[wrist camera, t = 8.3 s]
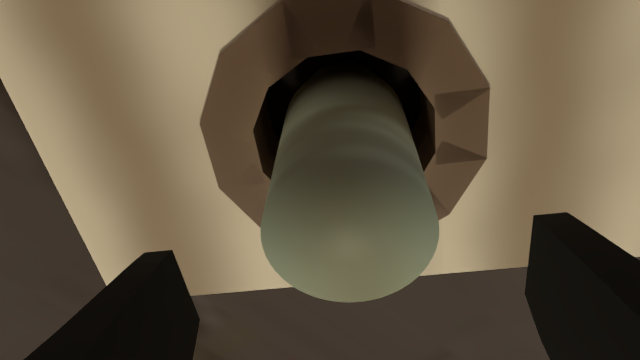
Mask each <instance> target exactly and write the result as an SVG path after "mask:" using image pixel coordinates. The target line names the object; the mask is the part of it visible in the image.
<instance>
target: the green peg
mask: <svg viewBox="0 0 640 360" xmlns="http://www.w3.org/2000/svg"><path fill="white" fill-rule="evenodd" d="M260 232H261V242H262V247H263V250H264V253H265V256H266V258H267V259H268V261H269V263H270V265H271V266H272V267H273V269H274V270H275V271H276V272H277V273H278V274H279V276H280V277H281V278H282V279H284V280H285V281H286V282H287V283H289V284H290V285H292V286H293V287H295V288H296V289H298V290H300V291H302V292H304V293H306V294H308V295H311V296H314V297H317V298H321V299H324V300H329V301H336V302H362V301H369V300H373V299H378V298H381V297H384V296H387V295H390V294H392V293H394V292H396V291H398V290H400V289H402V288H404V287H405V286H407V285H408V284H410V283H411V282H412V281H414V280H415V279H416V278H417V277H418V276H419V275H420V274H421V273H422V272H423V271H424V270H425V268H426V267H427V266H428V265H429V263H430V261H431V259H432V258H433V256H434V253H435V251H436V248H437V244H438V240H439V220H438V216H437V213H436V209H435V206H434V203H433V200H432V197H431V194H430V191H429V188H428V184H427V181H426V178H425V175H424V172H423V169H422V166H421V163H420V160H419V156H418V153H417V150H416V147H415V144H414V141H413V138H412V135H411V132H410V128H409V125H408V122H407V119H406V116H405V113H404V110H403V107H402V104H401V102H400V99H399V97H398V96H397V94H396V93H395V91H394V90H393V89H392V88H391V87H390V86H389V85H388V84H387V83H386V82H385V81H384V80H382V79H381V78H379V77H378V76H377V75H376V74H375V73H374V72H373V71H372V70H370V69H369V68H367V67H365V66H363V65H361V64H358V63H354V62H336V63H331V64H328V65H326V66H324V67H322V68H320V69H319V70H317V71H316V72H315V73H314V74H313V75H312V76H311V77H310V78H309V80H308V81H306V82H305V83H304V84H303V85H302V86H301V87H300V88H299V89H298V90H297V91H296V93H295V94H294V96H293V97H292V99H291V101H290V103H289V105H288V109H287V112H286V116H285V120H284V125H283V129H282V133H281V138H280V142H279V146H278V151H277V155H276V159H275V164H274V168H273V172H272V177H271V181H270V185H269V190H268V194H267V198H266V203H265V207H264V212H263V216H262V221H261V228H260Z"/></svg>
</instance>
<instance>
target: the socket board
mask: <svg viewBox="0 0 640 360" xmlns="http://www.w3.org/2000/svg"><path fill="white" fill-rule="evenodd" d="M357 50H361V51H363V52H366V53H368V54H370V55H373V56H375V57H378V58H380V59H382V60H385V61H387V62H390V63H392V64H395V65H397V66H399V67H402V68H404V69H407V70H408V71H409V73H410V74H411V76H412V77H413V78H414V80H415V81H416V83H417V84H418V86H419V89H420V116H419V117H418V119H417V121H416V123H415V125H414V126H413V128H412V130H411V135H412V138H413V141H414V144H415V147H416V150H417V153H418V156H419V160H420V163H421V166H422V169H423V172H424V175H425V178H426V181H427V184H428V188H429V191H430V194H431V197H432V200H433V203H434V206H435V209H436V213H437V216H438V220H439V240H438V244H437V248H436V251H435V253H434V256H433V258H432V259H431V261H430V263H429V265H428V266H427V267H426V268H425V270H424V271H423V272H422V273H421V274H420V275H419V276H423V275H435V274H446V273H458V272H469V271H481V270H492V269H504V268H515V267H527V266H528V260H529V251H530V242H531V233H532V223H533V215H542V214H552V213H563V212H567V213H569V214H571V215H572V216H574V217H575V218H577V219H579V220H580V221H582V222H583V223H585V224H586V225H588V226H589V227H591V228H592V229H594V230H595V231H597V232H598V233H600V234H601V235H602V236H604V237H605V238H607V239H608V240H610V241H611V242H613V243H614V244H616V245H617V246H619V247H620V248H622V249H623V250H625V251H626V252H628V253H629V254H631V255H632V256H634V257H640V0H0V78H1V80H2V82H3V84H4V86H5V88H6V90H7V92H8V94H9V96H10V97H11V99H12V101H13V103H14V105H15V107H16V109H17V111H18V113H19V115H20V117H21V119H22V121H23V123H24V125H25V127H26V129H27V131H28V133H29V135H30V137H31V139H32V141H33V143H34V144H35V146H36V148H37V150H38V152H39V154H40V156H41V158H42V160H43V162H44V164H45V166H46V168H47V170H48V172H49V174H50V176H51V178H52V180H53V182H54V184H55V186H56V188H57V189H58V191H59V193H60V195H61V197H62V199H63V201H64V203H65V205H66V207H67V209H68V211H69V213H70V215H71V217H72V219H73V221H74V223H75V225H76V227H77V229H78V231H79V233H80V235H81V236H82V238H83V240H84V242H85V244H86V246H87V248H88V250H89V252H90V254H91V256H92V258H93V260H94V262H95V264H96V266H97V268H98V270H99V272H100V274H101V276H102V278H103V280H104V282H105V283H106V285H108V284H109V283H110V282H111V281H113V280H114V279H115V278H116V277H117V276H118V275H119V274H120V273H121V272H122V271H123V270H125V269H126V268H127V267H128V266H129V265H130V264H131V263H132V262H134V261H135V260H136V259H137V258H138V257H140V256H141V255H142V254H143V253H145V252H155V251H166V250H173V253H174V255H175V258H176V260H177V263H178V265H179V268H180V271H181V273H182V276H183V278H184V281H185V283H186V286H187V288H188V291H189V293H190V296H193V295H205V294H216V293H228V292H239V291H251V290H262V289H274V288H285V287H293V286H292V285H290V284H289V283H287V282H286V281H285V280H284V279H282V278H281V277H280V276H279V274H278V273H277V272H276V271H275V270H274V269H273V267H272V266H271V265H270V263H269V261H268V259H267V258H266V256H265V253H264V250H263V247H262V242H261V232H260V228H261V221H262V216H263V212H264V207H265V203H266V198H267V194H268V190H269V185H270V181H271V177H272V172H273V168H274V164H275V159H276V155H277V151H278V146H279V142H280V138H279V137H278V136H277V135H276V134H275V133H274V131H273V127H272V122H271V117H270V113H269V108H268V104H267V99H266V92H267V90H268V88H269V87H270V86H271V85H273V84H274V83H275V82H276V81H278V80H279V79H280V78H281V77H283V76H284V75H285V74H287V73H288V72H289V71H290V70H292V69H293V68H294V67H295V66H297V65H298V64H299V63H301V62H302V61H303V60H304V59H306V58H307V57H313V56H320V55H328V54H335V53H342V52H350V51H357Z"/></svg>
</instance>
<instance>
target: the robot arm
mask: <svg viewBox="0 0 640 360" xmlns="http://www.w3.org/2000/svg"><path fill="white" fill-rule="evenodd" d="M525 295H526V298H527V301H528V304H529V307H530V310H531V313H532V316H533V319H534V322H535V325H536V327H537V330H538V333H539V336H540V338H541V341H542V343H543V345H544V348H545V350H546V352H547V354H548V356H549V358H550V360H640V260H638V259H637V258H635V257H634V256H632V255H631V254H629V253H628V252H626V251H625V250H623V249H622V248H620V247H619V246H617V245H616V244H614V243H613V242H611V241H610V240H608V239H607V238H605V237H604V236H602V235H601V234H600V233H598V232H597V231H595V230H594V229H592V228H591V227H589V226H588V225H586V224H585V223H583V222H582V221H580V220H579V219H577V218H575V217H574V216H572V215H571V214H569V213H567V212H563V213H552V214H542V215H533V223H532V233H531V242H530V251H529V260H528V269H527V278H526V288H525ZM199 321H200V319H199V316H198V314H197V311H196V309H195V306H194V304H193V301H192V299H191V296H190V293H189V291H188V288H187V286H186V283H185V281H184V278H183V276H182V273H181V271H180V268H179V265H178V263H177V260H176V258H175V255H174V253H173V250H166V251H155V252H145V253H143V254H142V255H141V256H140V257H138V258H137V259H136V260H135V261H134V262H132V263H131V264H130V265H129V266H128V267H127V268H126V269H125V270H123V271H122V272H121V273H120V274H119V275H118V276H117V277H116V278H115V279H114V280H113V281H111V282H110V283H109V284H108V285H107V286H106V287H105V288H104V289H103V290H102V291H101V292H100V293H98V294H97V295H96V296H95V297H94V298H93V299H92V300H91V301H90V302H89V303H88V304H86V305H85V306H84V307H83V308H82V309H81V310H80V311H79V312H78V313H77V314H76V315H74V316H73V317H72V318H71V319H70V320H69V321H68V322H67V323H66V324H65V325H64V326H62V327H61V328H60V329H59V330H58V331H57V332H56V333H54V334H53V335H52V336H51V337H50V338H49V339H47V340H46V341H45V342H44V343H43V344H42V345H40V346H39V347H38V348H37V349H36V350H35V351H33V352H32V353H31V354H30V355H29V356H28V357H26V358H25V359H24V360H192V359H193V354H194V349H195V344H196V338H197V332H198V326H199Z"/></svg>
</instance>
